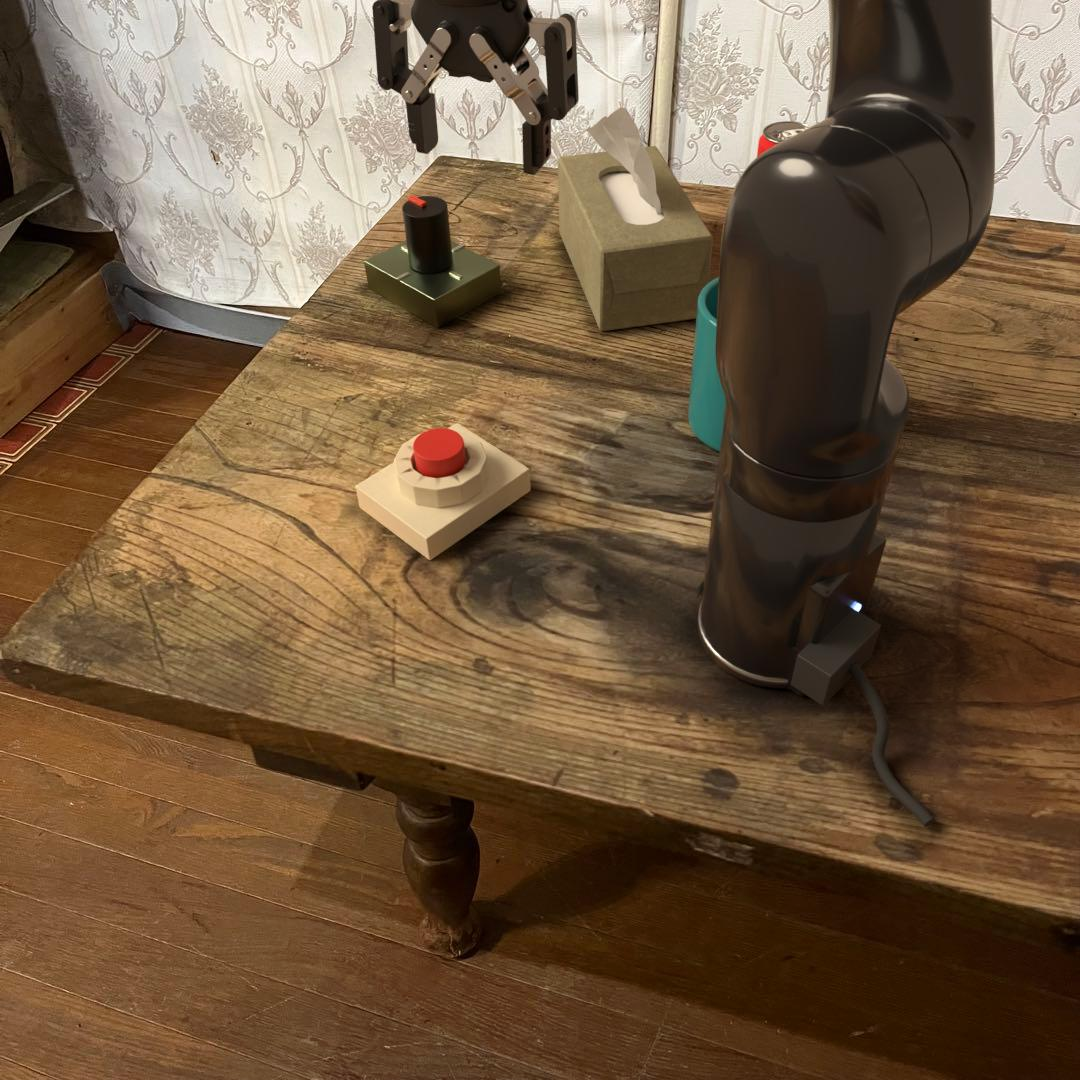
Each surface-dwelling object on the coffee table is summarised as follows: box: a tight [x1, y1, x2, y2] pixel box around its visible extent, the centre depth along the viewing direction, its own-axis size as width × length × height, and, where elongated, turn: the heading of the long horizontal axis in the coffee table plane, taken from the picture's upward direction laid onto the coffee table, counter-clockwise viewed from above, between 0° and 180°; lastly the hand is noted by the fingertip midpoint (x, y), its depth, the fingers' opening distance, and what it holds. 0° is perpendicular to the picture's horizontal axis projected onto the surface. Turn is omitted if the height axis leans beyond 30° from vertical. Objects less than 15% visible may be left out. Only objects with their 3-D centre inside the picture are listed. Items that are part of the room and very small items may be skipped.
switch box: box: [354, 422, 532, 561], centre depth 76 cm, size 8×10×4 cm
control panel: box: [363, 239, 502, 329], centre depth 96 cm, size 10×8×3 cm
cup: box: [687, 276, 726, 453], centre depth 77 cm, size 9×12×11 cm
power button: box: [413, 427, 466, 478], centre depth 74 cm, size 4×4×2 cm
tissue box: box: [557, 106, 714, 332], centre depth 93 cm, size 19×10×16 cm, turn 11°
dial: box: [401, 195, 453, 273], centre depth 93 cm, size 4×4×6 cm
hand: (480, 159), depth 75 cm, fingers open, 8 cm apart
